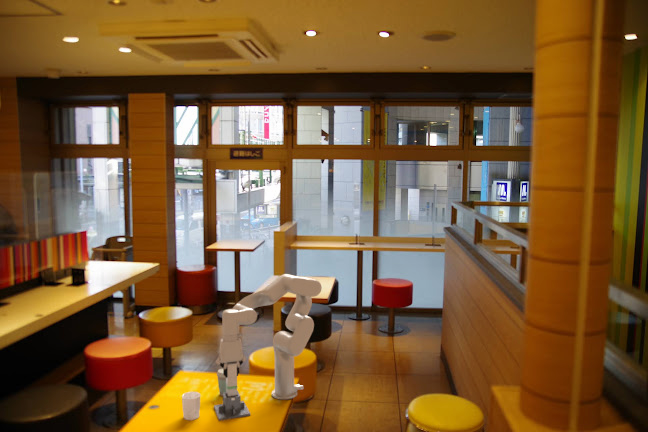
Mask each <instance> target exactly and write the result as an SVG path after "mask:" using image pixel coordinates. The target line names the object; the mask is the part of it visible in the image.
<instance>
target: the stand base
mask: <svg viewBox="0 0 648 432" xmlns="http://www.w3.org/2000/svg"><path fill="white" fill-rule="evenodd" d="M213 409H214V411H215V414H216V416H217V419H218V421H227V420H231V419H236V418H237V419H238V418H243V417H250V416H251V412H250V410H249V408H248V406H247V405H246V403H245V401H244V400H242V399H241V394H240V393H239V391H238V390H237V396H235V397H229V398H227V396H226V392H225V393H223V396H222V403H221V404H214V405H213Z"/></svg>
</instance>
